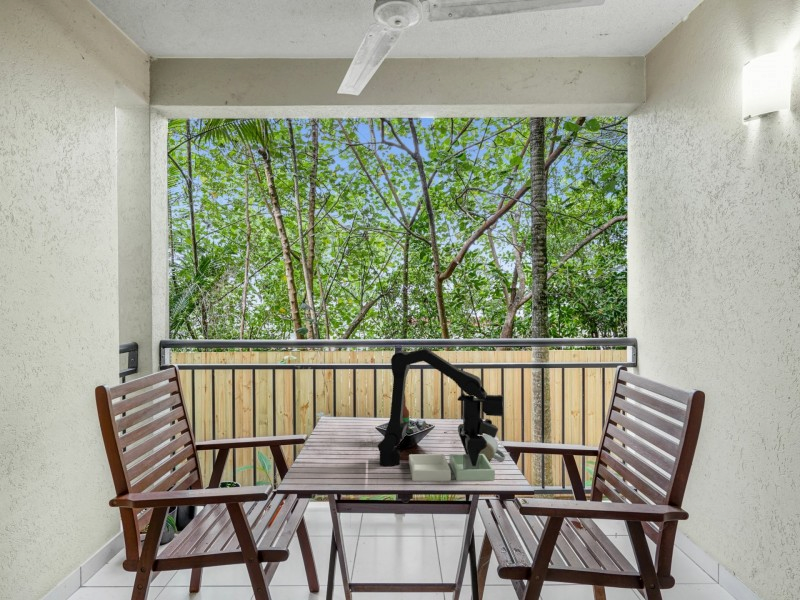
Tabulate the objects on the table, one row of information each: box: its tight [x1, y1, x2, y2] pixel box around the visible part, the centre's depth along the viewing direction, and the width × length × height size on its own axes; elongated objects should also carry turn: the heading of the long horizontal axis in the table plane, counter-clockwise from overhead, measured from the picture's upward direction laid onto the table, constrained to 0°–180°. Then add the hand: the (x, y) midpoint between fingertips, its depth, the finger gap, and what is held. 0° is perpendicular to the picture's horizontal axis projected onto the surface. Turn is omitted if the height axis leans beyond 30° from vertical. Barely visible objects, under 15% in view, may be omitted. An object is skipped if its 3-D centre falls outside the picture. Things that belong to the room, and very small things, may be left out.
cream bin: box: [408, 453, 452, 482], centre depth 170 cm, size 12×16×4 cm
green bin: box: [448, 453, 496, 482], centre depth 171 cm, size 12×16×4 cm
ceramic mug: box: [479, 434, 506, 462], centre depth 186 cm, size 11×8×8 cm
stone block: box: [462, 453, 479, 470], centre depth 171 cm, size 4×4×5 cm
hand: (471, 461), depth 171 cm, fingers open, 9 cm apart
